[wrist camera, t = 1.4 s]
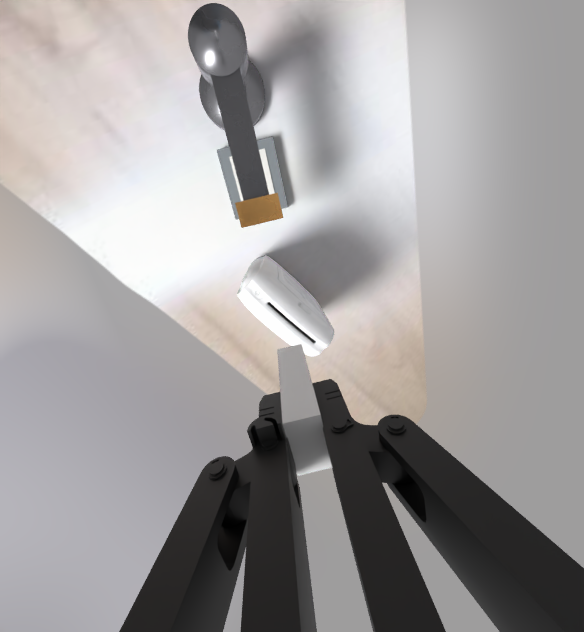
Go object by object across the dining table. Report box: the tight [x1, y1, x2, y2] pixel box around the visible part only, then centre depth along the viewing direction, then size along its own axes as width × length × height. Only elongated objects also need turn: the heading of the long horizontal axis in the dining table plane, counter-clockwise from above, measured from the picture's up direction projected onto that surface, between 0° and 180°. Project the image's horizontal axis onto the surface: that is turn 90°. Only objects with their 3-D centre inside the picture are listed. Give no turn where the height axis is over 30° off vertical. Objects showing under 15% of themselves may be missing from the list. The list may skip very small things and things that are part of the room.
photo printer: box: [237, 255, 334, 356], centre depth 30 cm, size 10×4×12 cm, turn 47°
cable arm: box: [188, 3, 283, 228], centre depth 23 cm, size 14×4×3 cm, turn 13°
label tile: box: [217, 137, 288, 220], centre depth 31 cm, size 7×6×1 cm
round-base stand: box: [199, 60, 265, 130], centre depth 26 cm, size 6×6×7 cm
